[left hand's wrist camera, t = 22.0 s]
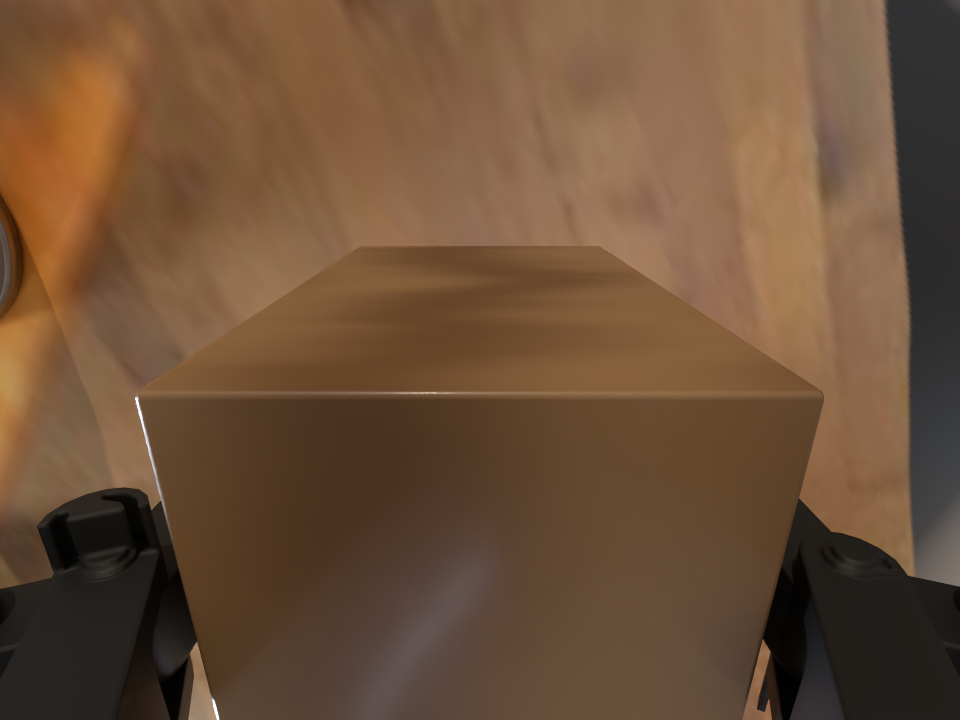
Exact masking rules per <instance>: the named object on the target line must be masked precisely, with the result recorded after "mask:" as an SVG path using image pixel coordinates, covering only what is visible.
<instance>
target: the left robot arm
mask: <svg viewBox="0 0 960 720" xmlns="http://www.w3.org/2000/svg"><path fill="white" fill-rule="evenodd" d="M37 528H38V531H39V533H40V536H41V539H42V542H43V544H44V547H45V550H46V553H47V555H48V558H49V561H50V563H51V566H52V569H53V572H54V575H53V577H52V578H50V579H46V580H41V581H37V582H32V583H27V584H23V585H18V586H13V587H8V588H4V589H0V720H188V717H189V709H190V702H191V694H192V687H193V679H194V672H193V665H192V661H191V657H190V652H191V650H192V649H193V647H194V645H195V643H196V642H197V638H196V634H195V630H194V626H193V623H192V619H191V615H190V611H189V607H188V603H187V599H186V595H185V591H184V587H183V583H182V580H181V576H180V572H179V568H178V564H177V560H176V556H175V552H174V548H173V544H172V540H171V537H170V533H169V529H168V525H167V521H166V517H165V513H164V509H163V505H162V501H160V502H159V503H158V504H157V505H156V506H155V507H154V508H153V509H152V511H151V508H150V504H149V500H148V496H147V495H146V494H145V493H143V492H142V491H140V490H139V489H132V488H114V489H105V490H102V491H98V492H94V493H90V494H86V495H84V496H81V497H79V498H77V499H74V500H72V501H70V502H67V503H65V504H63V505H62V506H60V507H59V508H57V509H55V510H54V511H52V512H51V513H49V514H48V515H47V516H46V517H45V518H44V519H43V520H42V521H41V522H40V523H39V524H38V525H37ZM763 640H764V641H765V643H766V645H767V646H768V648H769V650H770V651H771V653H770V657H769V661H768V665H767V668H766V672H765V676H764V680H763V683H762V687H761V691H760V695H759V699H758V706H757V710H761V711H764V712H765V709H766V706H767V702H768V699H769V700H770V708H771V715H772V720H960V587H958V586H953V585H949V584H944V583H939V582H935V581H930V580H925V579H921V578H916V577H911V576H907V574H906V572H905V571H904V570H903V569H902V567H901V566H900V565H899V564H898V562H897V561H896V560H895V559H893V558H892V557H891V556H889V555H888V554H887V553H885V552H884V551H883V550H881V549H880V548H878V547H876V546H874V545H872V544H870V543H868V542H866V541H864V540H862V539H859V538H856V537H852V536H849V535H846V534H842V533H836V532H831V531H830V530H829V529H828V528H827V527H826V526H825V525H824V524H823V523H822V522H821V521H820V520H819V519H818V518H817V517H816V516H815V515H814V514H813V513H812V511H811V510H810V509H809V508H808V507H807V506H806V505H805V504H804V503H803V502H802V501H801V500H800V499H798V503H797V507H796V511H795V515H794V519H793V523H792V527H791V530H790V534H789V538H788V542H787V546H786V550H785V554H784V558H783V562H782V566H781V569H780V573H779V577H778V581H777V585H776V589H775V593H774V597H773V601H772V605H771V608H770V612H769V616H768V620H767V624H766V628H765V632H764V636H763Z"/></svg>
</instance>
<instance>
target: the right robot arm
mask: <svg viewBox="0 0 960 720" xmlns="http://www.w3.org/2000/svg"><path fill="white" fill-rule="evenodd" d="M21 275H22V254H21V247H20V242H19V238H18V234H17V231H16V228H15V224H14V222H13V220H12V217H11V215H10V212H9V210H8V209H7V207H6V205H5V203H4V201H3V199H2V198H1V196H0V319H1V318H2V317H3V316H4V314H5V313H6V312H7V311H8V310H9V308H10V307H11V305H12V304H13V302H14V300H15V298H16V295H17V292H18V290H19V286H20V282H21Z"/></svg>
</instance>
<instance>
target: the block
mask: <svg viewBox="0 0 960 720" xmlns="http://www.w3.org/2000/svg"><path fill="white" fill-rule="evenodd" d="M135 400H136V404H137V408H138V411H139V415H140V419H141V423H142V427H143V431H144V435H145V439H146V443H147V447H148V451H149V454H150V458H151V462H152V466H153V470H154V474H155V478H156V482H157V486H158V490H159V494H160V497H161V501H162V505H163V509H164V513H165V517H166V521H167V525H168V529H169V533H170V537H171V540H172V544H173V548H174V552H175V556H176V560H177V564H178V568H179V572H180V576H181V580H182V583H183V587H184V591H185V595H186V599H187V603H188V607H189V611H190V615H191V619H192V623H193V626H194V630H195V634H196V638H197V642H198V646H199V650H200V654H201V658H202V662H203V665H204V669H205V673H206V677H207V681H208V685H209V689H210V693H211V697H212V701H213V705H214V708H215V712H216V716H217V720H742V718H743V714H744V710H745V706H746V702H747V698H748V694H749V690H750V686H751V683H752V679H753V675H754V671H755V667H756V663H757V659H758V655H759V651H760V647H761V644H762V640H763V636H764V632H765V628H766V624H767V620H768V616H769V612H770V608H771V605H772V601H773V597H774V593H775V589H776V585H777V581H778V577H779V573H780V569H781V566H782V562H783V558H784V554H785V550H786V546H787V542H788V538H789V534H790V530H791V527H792V523H793V519H794V515H795V511H796V507H797V503H798V499H799V495H800V491H801V488H802V484H803V480H804V476H805V472H806V468H807V464H808V460H809V456H810V452H811V449H812V445H813V441H814V437H815V433H816V429H817V425H818V421H819V417H820V413H821V410H822V406H823V402H824V395H823V393H822V391H821V390H819V389H817V388H816V387H814V386H813V385H811V384H810V383H808V382H807V381H805V380H804V379H802V378H801V377H799V376H798V375H796V374H794V373H793V372H791V371H790V370H788V369H787V368H785V367H784V366H782V365H781V364H779V363H778V362H776V361H775V360H773V359H771V358H770V357H768V356H767V355H765V354H764V353H762V352H761V351H759V350H758V349H756V348H755V347H753V346H752V345H750V344H748V343H747V342H745V341H744V340H742V339H741V338H739V337H738V336H736V335H735V334H733V333H732V332H730V331H728V330H727V329H725V328H724V327H722V326H721V325H719V324H718V323H716V322H715V321H713V320H712V319H710V318H709V317H707V316H705V315H704V314H702V313H701V312H699V311H698V310H696V309H695V308H693V307H692V306H690V305H689V304H687V303H686V302H684V301H682V300H681V299H679V298H678V297H676V296H675V295H673V294H672V293H670V292H669V291H667V290H666V289H664V288H663V287H661V286H659V285H658V284H656V283H655V282H653V281H652V280H650V279H649V278H647V277H646V276H644V275H643V274H641V273H640V272H638V271H636V270H635V269H633V268H632V267H630V266H629V265H627V264H626V263H624V262H623V261H621V260H620V259H618V258H617V257H615V256H613V255H612V254H610V253H609V252H607V251H606V250H604V249H603V248H601V247H599V246H361V247H359V248H357V249H356V250H354V251H352V252H351V253H349V254H348V255H346V256H345V257H343V258H342V259H340V260H339V261H337V262H336V263H334V264H332V265H331V266H329V267H328V268H326V269H325V270H323V271H322V272H320V273H319V274H317V275H315V276H314V277H312V278H311V279H309V280H308V281H306V282H305V283H303V284H302V285H300V286H299V287H297V288H295V289H294V290H292V291H291V292H289V293H288V294H286V295H285V296H283V297H282V298H280V299H279V300H277V301H275V302H274V303H272V304H271V305H269V306H268V307H266V308H265V309H263V310H262V311H260V312H259V313H257V314H255V315H254V316H252V317H251V318H249V319H248V320H246V321H245V322H243V323H242V324H240V325H238V326H237V327H235V328H234V329H232V330H231V331H229V332H228V333H226V334H225V335H223V336H222V337H220V338H218V339H217V340H215V341H214V342H212V343H211V344H209V345H208V346H206V347H205V348H203V349H202V350H200V351H198V352H197V353H195V354H194V355H192V356H191V357H189V358H188V359H186V360H185V361H183V362H182V363H180V364H178V365H177V366H175V367H174V368H172V369H171V370H169V371H168V372H166V373H165V374H163V375H161V376H160V377H158V378H157V379H155V380H154V381H152V382H151V383H149V384H148V385H146V386H145V387H143V388H141V389H140V390H138V391H137V393H136V398H135Z"/></svg>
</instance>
